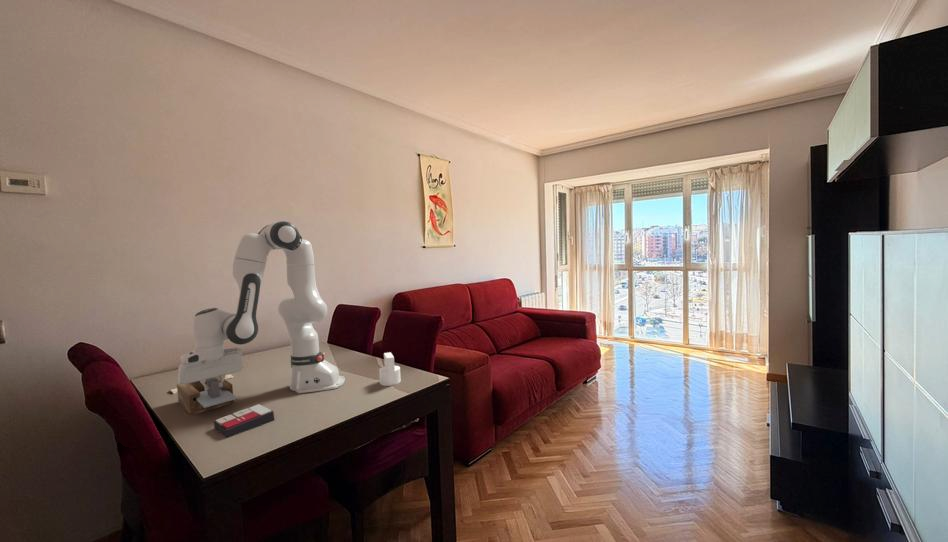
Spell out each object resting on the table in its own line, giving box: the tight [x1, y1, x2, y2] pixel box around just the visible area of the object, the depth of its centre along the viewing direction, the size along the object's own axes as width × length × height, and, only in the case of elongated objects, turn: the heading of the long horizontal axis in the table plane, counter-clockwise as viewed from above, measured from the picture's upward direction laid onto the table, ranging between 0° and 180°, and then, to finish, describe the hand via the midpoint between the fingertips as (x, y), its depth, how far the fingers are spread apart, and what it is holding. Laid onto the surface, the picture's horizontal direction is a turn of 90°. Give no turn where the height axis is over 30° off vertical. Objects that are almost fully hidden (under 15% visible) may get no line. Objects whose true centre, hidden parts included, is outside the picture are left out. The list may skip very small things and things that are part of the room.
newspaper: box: [168, 373, 235, 395], centre depth 176 cm, size 24×7×2 cm, turn 144°
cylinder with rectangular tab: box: [378, 351, 402, 387], centre depth 168 cm, size 9×9×12 cm
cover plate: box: [195, 377, 237, 408], centre depth 144 cm, size 10×18×7 cm, turn 47°
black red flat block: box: [213, 403, 275, 439], centre depth 132 cm, size 11×4×15 cm
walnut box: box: [176, 376, 235, 416], centre depth 153 cm, size 14×20×8 cm
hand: (213, 388), depth 144 cm, fingers closed on cover plate, 2 cm apart
